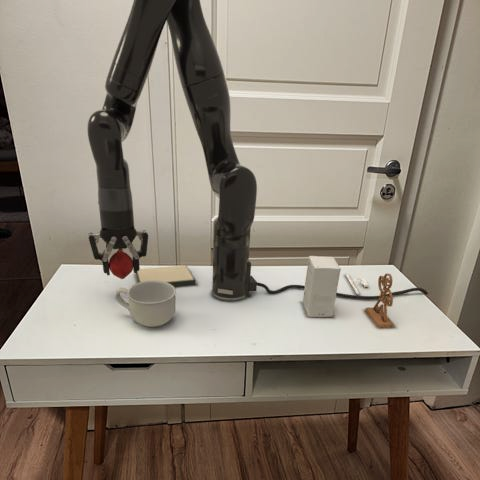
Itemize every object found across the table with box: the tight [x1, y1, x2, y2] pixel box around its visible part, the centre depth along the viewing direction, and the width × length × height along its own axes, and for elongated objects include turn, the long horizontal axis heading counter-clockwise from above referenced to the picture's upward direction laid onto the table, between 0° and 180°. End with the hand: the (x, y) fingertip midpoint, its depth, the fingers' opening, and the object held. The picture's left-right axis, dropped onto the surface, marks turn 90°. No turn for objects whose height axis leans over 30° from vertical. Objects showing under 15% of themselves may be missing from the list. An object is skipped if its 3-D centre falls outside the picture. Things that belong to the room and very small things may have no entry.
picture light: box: [345, 273, 369, 296], centre depth 124 cm, size 14×4×2 cm, turn 1°
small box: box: [302, 255, 341, 318], centre depth 106 cm, size 8×6×13 cm
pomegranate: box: [108, 248, 133, 280], centre depth 106 cm, size 6×6×8 cm
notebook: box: [135, 264, 197, 288], centre depth 121 cm, size 15×11×2 cm
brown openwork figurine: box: [364, 273, 395, 329], centre depth 104 cm, size 9×4×12 cm, turn 7°
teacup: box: [114, 280, 177, 328], centre depth 99 cm, size 14×11×8 cm
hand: (122, 273), depth 107 cm, fingers closed on pomegranate, 6 cm apart
